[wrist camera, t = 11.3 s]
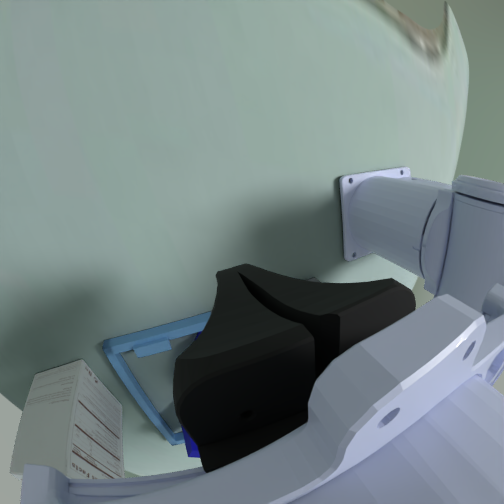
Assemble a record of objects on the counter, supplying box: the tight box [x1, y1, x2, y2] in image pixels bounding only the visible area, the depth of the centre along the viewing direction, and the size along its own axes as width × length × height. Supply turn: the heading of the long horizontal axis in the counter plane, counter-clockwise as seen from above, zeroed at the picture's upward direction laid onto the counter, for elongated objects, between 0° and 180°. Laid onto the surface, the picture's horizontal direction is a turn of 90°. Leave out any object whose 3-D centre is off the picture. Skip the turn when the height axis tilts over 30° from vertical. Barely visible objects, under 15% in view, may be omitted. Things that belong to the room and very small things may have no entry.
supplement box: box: [10, 359, 125, 482], centre depth 15 cm, size 7×7×13 cm
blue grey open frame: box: [102, 277, 320, 446], centre depth 24 cm, size 20×17×2 cm
